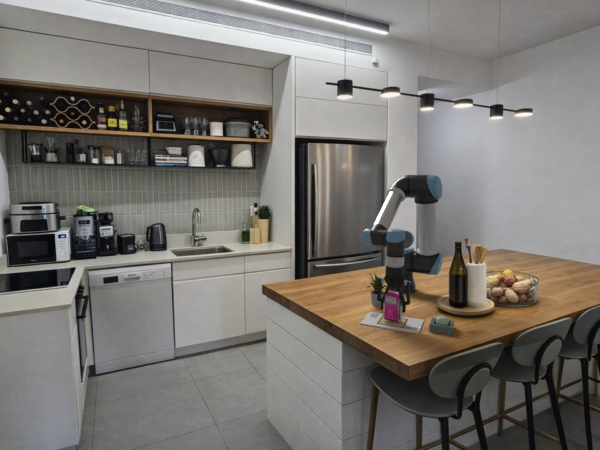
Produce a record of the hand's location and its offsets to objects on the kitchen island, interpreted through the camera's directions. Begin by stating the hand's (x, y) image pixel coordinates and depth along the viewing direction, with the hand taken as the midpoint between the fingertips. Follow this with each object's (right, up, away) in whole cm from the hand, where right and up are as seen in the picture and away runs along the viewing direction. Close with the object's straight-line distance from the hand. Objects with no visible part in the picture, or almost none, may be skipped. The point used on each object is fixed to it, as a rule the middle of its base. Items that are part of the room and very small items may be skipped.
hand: (392, 318), depth 172 cm
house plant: (-3, +1, +24) cm, 25 cm away
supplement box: (0, -1, 0) cm, 1 cm away
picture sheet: (0, -2, 0) cm, 2 cm away
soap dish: (+19, -3, -7) cm, 20 cm away
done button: (+19, -3, -7) cm, 20 cm away
